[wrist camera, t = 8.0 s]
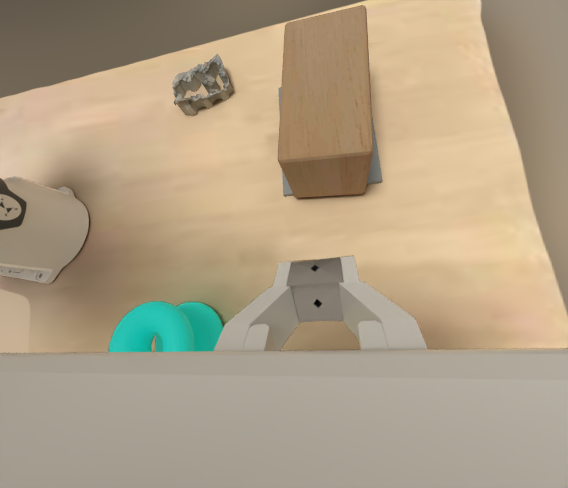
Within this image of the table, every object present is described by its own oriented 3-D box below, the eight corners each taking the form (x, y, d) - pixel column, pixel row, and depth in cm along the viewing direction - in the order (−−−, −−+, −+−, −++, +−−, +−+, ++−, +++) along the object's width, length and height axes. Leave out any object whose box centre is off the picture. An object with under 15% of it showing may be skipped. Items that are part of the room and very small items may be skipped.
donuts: (189, 393, 23) (102, 413, 24) (233, 367, 32) (169, 383, 34) (176, 290, 26) (100, 314, 27) (221, 294, 35) (162, 311, 37)
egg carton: (185, 122, 45) (171, 105, 42) (180, 92, 48) (166, 74, 44) (236, 99, 44) (226, 79, 40) (228, 70, 46) (218, 48, 42)
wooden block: (365, 194, 33) (360, 77, 38) (374, 151, 24) (366, 1, 28) (293, 199, 35) (297, 88, 40) (276, 160, 26) (284, 21, 31)
